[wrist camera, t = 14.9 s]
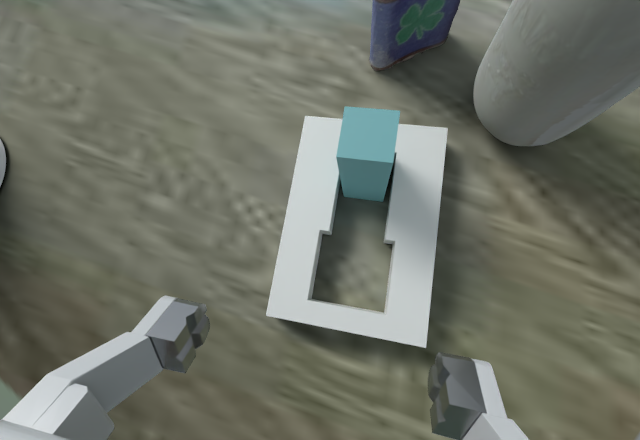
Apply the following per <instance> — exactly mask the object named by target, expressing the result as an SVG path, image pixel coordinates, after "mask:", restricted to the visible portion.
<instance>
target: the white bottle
mask: <svg viewBox="0 0 640 440" xmlns="http://www.w3.org/2000/svg"><path fill="white" fill-rule="evenodd" d="M638 87H640V0H513V1H512V3H511V5H510V7H509V9H508V11H507V14H506V16H505V18H504V20H503V22H502V24H501V25H500V27H499V29H498V31H497V33H496V35H495V37H494V38H493V40H492V42H491V44H490V46H489V48H488V50H487V52H486V53H485V55H484V57H483V60H482V62H481V64H480V66H479V69H478V72H477V75H476V78H475V83H474V94H473V96H474V106H475V110H476V113H477V116H478V118H479V120H480V121H481V123H482V124H483V126H484V127H485V128H486V129H487V130H488V131H489V132H490V133H491V134H492V135H493V136H494V137H496V138H497V139H499V140H500V141H502V142H504V143H507V144H510V145H514V146H538V145H546V144H548V143H551V142H553V141H555V140H557V139H559V138H562V137H564V136H566V135H568V134H569V133H571V132H573V131H575V130H577V129H578V128H580V127H581V126H583V125H585V124H586V123H588V122H589V121H591V120H592V119H594V118H595V117H597V116H598V115H600V114H601V113H603V112H604V111H606V110H607V109H608V108H610V107H611V106H613V105H614V104H615V103H617V102H618V101H620V100H621V99H623V98H624V97H626V96H627V95H628V94H630V93H631V92H633V91H634V90H636V89H637V88H638Z"/></svg>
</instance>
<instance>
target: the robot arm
mask: <svg viewBox="0 0 640 440" xmlns="http://www.w3.org/2000/svg"><path fill="white" fill-rule="evenodd" d="M5 168H6V154H5V149H4V146H3V143H2V141H1V139H0V187H1V184H2V181H3V178H4V174H5ZM206 311H207V309H206V305H205V304H202V303H197V302H193V301H188V300H184V299H179V298H175V297H170V296H163V297H162V298H160V299H159V300H158V301H157V303H156V304H155V305H154V306H153V307H152V308H151V310H150V311H149V312H148V313H147V314H146V315H145V317H144V318H143V319H142V320H141V321H140V322H139V324H138V325H137V326H136V327H135V328H134V329H133V331H132V332H126V333H124V334H122V335H120V336H118V337H116V338H114V339H113V340H111V341H109V342H107V343H105V344H103V345H101V346H99V347H97V348H95V349H94V350H92V351H90V352H88V353H86V354H84V355H82V356H80V357H78V358H77V359H75V360H73V361H71V362H69V363H67V364H65V365H63V366H61V367H59V368H58V369H56V370H54V371H52V372H50V373H48V374H46V375H45V376H44V377H43V379H42V380H41V381H40V382H39V383H38V384H37V385H36V386H35V387H34V388H33V389H32V390H31V391H30V392H29V393H28V394H27V395H26V396H25V397H24V398H23V399H22V400H21V401H20V402H19V403H18V404H17V405H16V406H15V407H14V408H13V409H12V410H11V411H10V412H9V413H8V414H7V415H6V416H5V417H4V418H3V419H0V440H107V438H108V437H109V435H110V434H111V432H112V431H113V429H114V423H113V421H112V420H111V419H110V417H109V416H108V415H107V412H109V411H110V410H111V409H112V408H114V407H115V406H116V405H118V404H119V403H120V402H122V401H123V400H124V399H126V398H127V397H128V396H130V395H131V394H132V393H133V392H135V391H136V390H137V389H139V388H140V387H141V386H143V385H144V384H145V383H147V382H148V381H149V380H151V379H152V378H153V377H154V376H156V375H157V374H158V373H160V372H161V371H162V370H163V369H167V370H172V371H177V372H182V373H186V372H187V370H188V368H189V367H190V365H191V363H192V362H193V360H194V358H195V357H196V351H195V349H196V348H198V347H199V346H201V345H203V343H204V341H205V340H206V338H207V335H208V332H209V329H210V321H209V318H208V317H207V316H206V315H205V313H206ZM435 361H436V364H435V365H432V366H431V368H430V371H429V376H428V395H429V397H430V398H431V400H432V401H433V405H432V407H431V409H430V416H431V425H432V433H434V434H438V435H442V436H445V437H449V438H453V439H456V440H529V439H528V438H527V436H526V435H525V434H524V433H523V432H522V430H521V429H520V428H519V427H518V426H517V424H516V423H515V422H514V421H513V420H511V419H508V418H507V415H506V412H505V409H504V405H503V402H502V398H501V395H500V392H499V388H498V385H497V382H496V378H495V375H494V372H493V368H492V366H491V364H490V363H489V362H486V361H481V360H476V359H471V358H468V357H463V356H458V355H452V354H447V353H442V352H439V353H437V355H436V357H435ZM162 368H163V369H162Z"/></svg>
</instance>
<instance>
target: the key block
mask: <svg viewBox="0 0 640 440" xmlns="http://www.w3.org/2000/svg"><path fill="white" fill-rule="evenodd" d="M399 116H400V111H396V110H383V109H370V108H358V107H345V108H344V114H343V120H342V126H341V132H340V137H339V143H338V149H337V155H336V159H337V164H338V169H339V174H340V179H341V185H342V190H343V195H344V197H349V198H357V199H364V200H372V201H380V202H383V200H384V196H385V192H386V188H387V185H388V181H389V177H390V173H391V170H392V166H393V161H394V154H395V146H396V139H397V131H398V124H399Z"/></svg>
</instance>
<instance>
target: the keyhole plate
mask: <svg viewBox="0 0 640 440" xmlns="http://www.w3.org/2000/svg"><path fill="white" fill-rule="evenodd" d="M342 120H343V119H336V118H324V117H313V116H305V120H304V125H303V130H302V135H301V141H300V146H299V151H298V156H297V161H296V166H295V171H294V176H293V181H292V186H291V191H290V196H289V201H288V206H287V211H286V216H285V221H284V227H283V232H282V237H281V242H280V247H279V252H278V257H277V262H276V267H275V272H274V277H273V282H272V287H271V292H270V297H269V302H268V307H267V312H266V316H271V317H275V318H280V319H285V320H290V321H295V322H300V323H305V324H310V325H315V326H320V327H325V328H330V329H335V330H340V331H345V332H350V333H355V334H360V335H365V336H370V337H374V338H379V339H384V340H389V341H394V342H399V343H404V344H409V345H414V346H419V347H424V348H426V343H427V333H428V323H429V312H430V302H431V292H432V282H433V272H434V262H435V252H436V242H437V231H438V221H439V211H440V201H441V191H442V181H443V171H444V161H445V151H446V140H447V130H448V128H441V127H429V126H417V125H406V124H398V131H397V139H396V146H395V154H394V161H393V162H394V167H393V175H392V183H391V190H390V198H389V205H388V213H387V220H386V228H385V235H384V243H387V244H393V247H392V255H391V263H390V271H389V279H388V286H387V294H386V302H385V310H384V312H378V311H373V310H368V309H362V308H357V307H352V306H346V305H341V304H336V303H330V302H325V301H320V300H315V299H312V294H313V288H314V282H315V276H316V270H317V265H318V259H319V253H320V247H321V241H322V235H323V234H327V235H332V229H333V223H334V217H335V211H336V205H337V199H338V193H339V187H340V181H341V179H340V174H339V169H338V164H337V159H336V155H337V149H338V143H339V137H340V132H341V126H342Z"/></svg>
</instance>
